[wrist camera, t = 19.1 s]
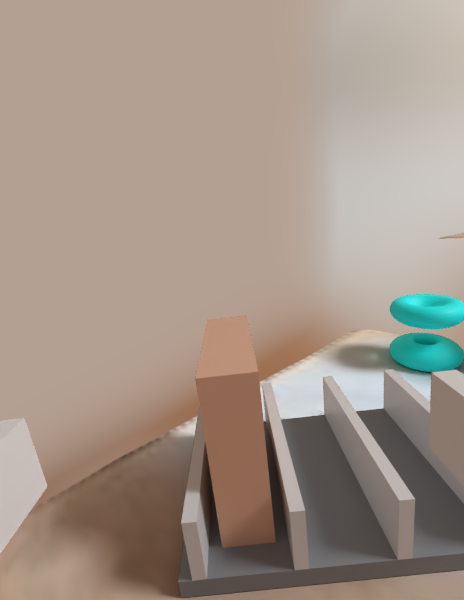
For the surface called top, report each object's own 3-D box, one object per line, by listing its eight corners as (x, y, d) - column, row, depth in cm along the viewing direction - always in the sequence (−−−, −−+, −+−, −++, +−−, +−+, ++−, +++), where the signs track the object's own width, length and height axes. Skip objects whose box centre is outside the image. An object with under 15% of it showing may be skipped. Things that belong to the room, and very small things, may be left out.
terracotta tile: (259, 433, 34) (246, 315, 31) (275, 542, 23) (258, 371, 19) (224, 437, 34) (207, 319, 31) (222, 547, 23) (195, 378, 19)
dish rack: (400, 417, 36) (401, 368, 35) (529, 563, 21) (542, 485, 19) (200, 439, 37) (193, 391, 35) (181, 598, 21) (165, 524, 20)
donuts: (379, 305, 47) (402, 290, 53) (379, 364, 49) (401, 343, 56) (459, 313, 39) (474, 295, 46) (454, 382, 42) (469, 356, 48)
